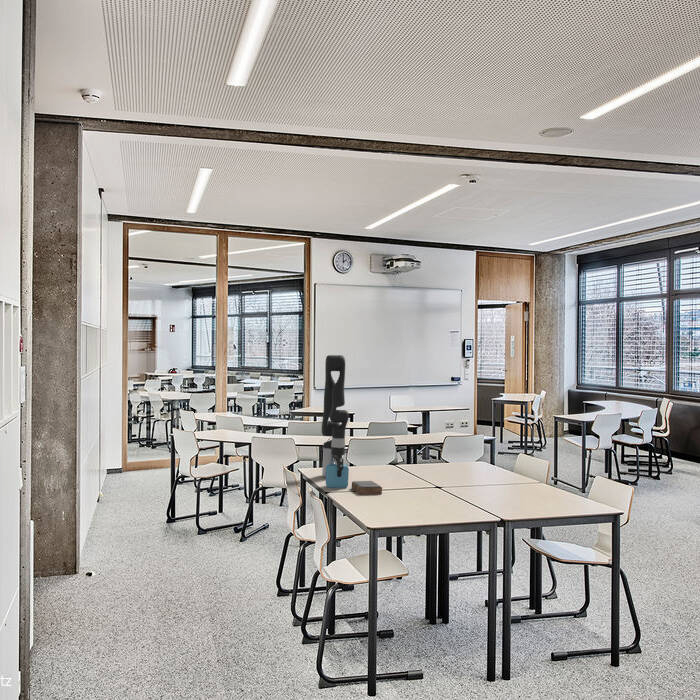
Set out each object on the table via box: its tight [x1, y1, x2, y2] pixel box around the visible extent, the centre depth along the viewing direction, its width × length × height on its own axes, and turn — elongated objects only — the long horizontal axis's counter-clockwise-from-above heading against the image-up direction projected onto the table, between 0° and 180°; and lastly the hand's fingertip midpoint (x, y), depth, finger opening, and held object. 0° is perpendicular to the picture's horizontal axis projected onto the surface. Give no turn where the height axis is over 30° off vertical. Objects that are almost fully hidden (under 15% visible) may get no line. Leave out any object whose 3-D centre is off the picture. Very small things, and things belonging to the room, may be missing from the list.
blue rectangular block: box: [325, 464, 350, 489], centre depth 353 cm, size 12×4×12 cm, turn 99°
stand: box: [351, 480, 383, 496], centre depth 345 cm, size 15×12×4 cm
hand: (336, 475), depth 353 cm, fingers open, 8 cm apart
